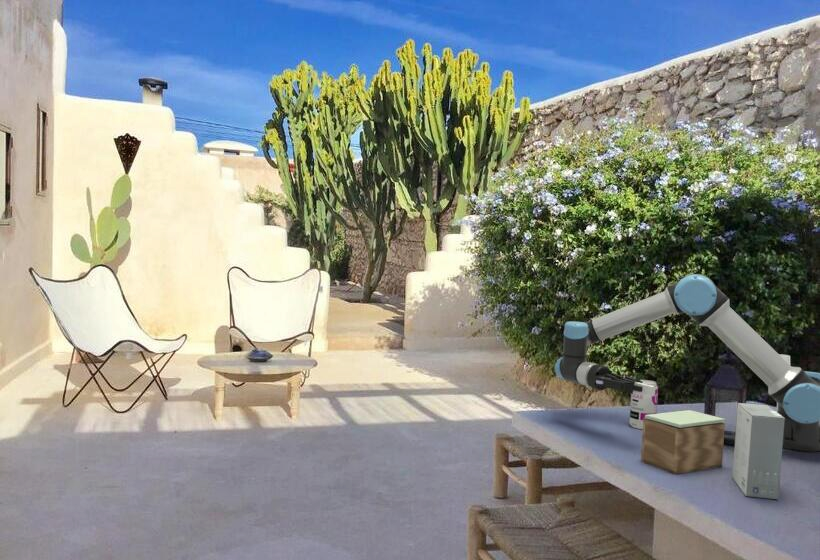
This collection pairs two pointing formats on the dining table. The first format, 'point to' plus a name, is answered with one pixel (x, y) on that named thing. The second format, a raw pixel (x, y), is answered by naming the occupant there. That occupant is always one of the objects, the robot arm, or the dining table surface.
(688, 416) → the lid
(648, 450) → the crate
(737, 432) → the hard drive box
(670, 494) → the dining table surface
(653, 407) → the supplement can
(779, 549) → the dining table surface
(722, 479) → the dining table surface
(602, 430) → the dining table surface
